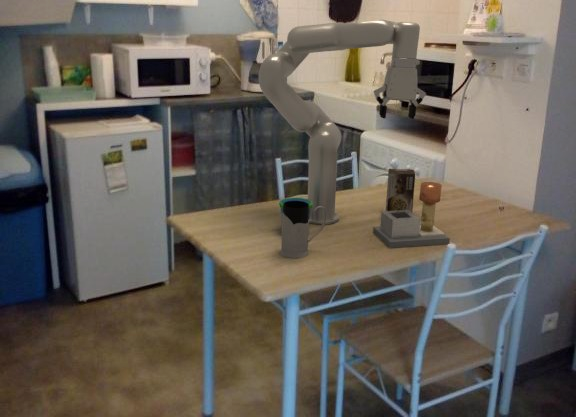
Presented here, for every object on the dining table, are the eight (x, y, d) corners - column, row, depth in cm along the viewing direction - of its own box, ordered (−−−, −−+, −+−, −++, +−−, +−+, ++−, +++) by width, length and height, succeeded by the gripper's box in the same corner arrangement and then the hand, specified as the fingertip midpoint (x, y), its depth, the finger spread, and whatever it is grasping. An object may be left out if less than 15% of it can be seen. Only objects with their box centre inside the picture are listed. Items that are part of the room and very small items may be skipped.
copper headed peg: (431, 225, 203) (435, 181, 198) (440, 232, 197) (445, 186, 192) (413, 226, 201) (417, 182, 197) (421, 233, 196) (426, 187, 191)
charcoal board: (389, 248, 190) (390, 241, 189) (372, 232, 203) (373, 226, 202) (449, 244, 195) (449, 238, 194) (428, 229, 208) (429, 223, 207)
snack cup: (273, 224, 207) (274, 195, 204) (304, 223, 210) (305, 194, 207) (285, 241, 193) (285, 210, 190) (317, 239, 196) (318, 208, 192)
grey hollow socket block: (391, 238, 192) (392, 220, 190) (380, 228, 200) (381, 211, 198) (418, 237, 194) (420, 219, 192) (406, 227, 203) (408, 209, 201)
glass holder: (275, 248, 187) (276, 201, 182) (319, 244, 192) (321, 197, 187) (285, 259, 179) (287, 210, 174) (330, 254, 184) (333, 206, 179)
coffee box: (410, 212, 224) (414, 169, 219) (412, 218, 218) (416, 173, 213) (384, 211, 225) (388, 167, 220) (385, 216, 219) (389, 172, 214)
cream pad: (421, 236, 194) (421, 235, 194) (409, 227, 203) (409, 225, 202) (444, 235, 196) (444, 233, 196) (431, 225, 205) (431, 224, 204)
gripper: (423, 63, 199) (417, 116, 204) (373, 61, 195) (367, 115, 200) (434, 65, 192) (426, 120, 197) (381, 63, 188) (375, 119, 194)
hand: (396, 118), depth 199 cm, fingers open, 9 cm apart
